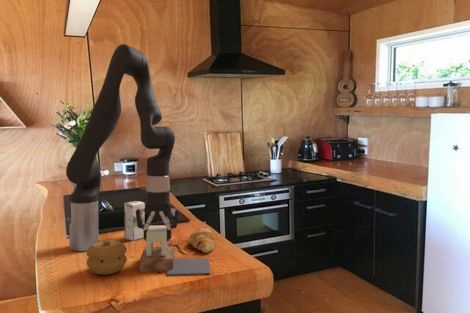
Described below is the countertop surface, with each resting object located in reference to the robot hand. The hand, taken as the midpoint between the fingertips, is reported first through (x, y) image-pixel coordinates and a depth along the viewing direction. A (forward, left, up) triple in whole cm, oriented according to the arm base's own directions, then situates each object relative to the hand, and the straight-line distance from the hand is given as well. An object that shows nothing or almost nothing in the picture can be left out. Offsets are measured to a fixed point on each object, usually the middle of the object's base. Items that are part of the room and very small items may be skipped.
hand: (157, 240), depth 125 cm
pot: (-15, -5, -8) cm, 18 cm away
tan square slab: (0, 0, -8) cm, 8 cm away
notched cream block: (0, 0, -4) cm, 4 cm away
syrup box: (-12, +30, -8) cm, 33 cm away
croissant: (+15, +19, -8) cm, 26 cm away
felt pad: (+10, -3, -8) cm, 13 cm away
